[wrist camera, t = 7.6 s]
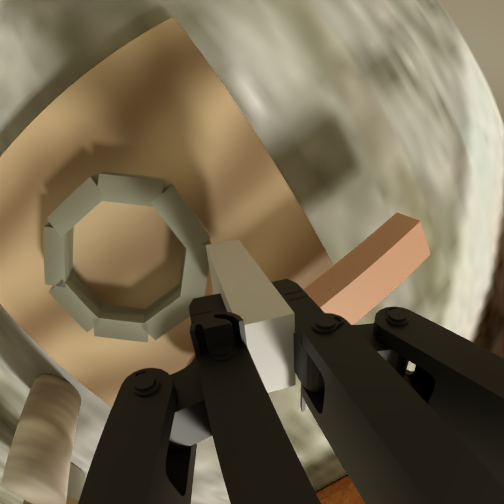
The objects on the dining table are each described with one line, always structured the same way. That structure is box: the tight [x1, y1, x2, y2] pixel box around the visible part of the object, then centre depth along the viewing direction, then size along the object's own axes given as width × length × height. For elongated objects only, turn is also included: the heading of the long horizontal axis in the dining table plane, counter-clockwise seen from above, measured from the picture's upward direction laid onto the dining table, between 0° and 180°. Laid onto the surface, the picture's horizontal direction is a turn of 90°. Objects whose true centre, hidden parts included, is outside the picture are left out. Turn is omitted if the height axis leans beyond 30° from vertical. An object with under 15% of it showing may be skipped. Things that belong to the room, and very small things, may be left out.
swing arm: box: [187, 213, 430, 366], centre depth 15 cm, size 16×4×3 cm, turn 124°
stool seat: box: [0, 17, 334, 407], centre depth 15 cm, size 18×18×4 cm
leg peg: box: [2, 374, 81, 504], centre depth 14 cm, size 4×4×10 cm
